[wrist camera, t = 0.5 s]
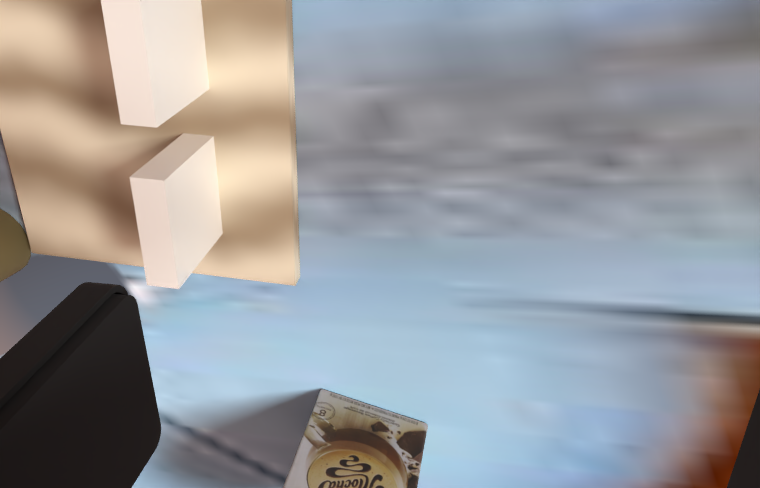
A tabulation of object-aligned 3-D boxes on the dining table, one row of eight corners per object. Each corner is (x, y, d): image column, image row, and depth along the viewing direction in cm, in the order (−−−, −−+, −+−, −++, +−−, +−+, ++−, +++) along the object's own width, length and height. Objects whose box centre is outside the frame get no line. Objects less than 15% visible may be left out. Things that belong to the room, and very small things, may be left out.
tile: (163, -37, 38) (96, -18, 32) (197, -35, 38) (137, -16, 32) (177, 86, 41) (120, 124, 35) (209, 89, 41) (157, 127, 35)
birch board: (-48, -118, 39) (-63, -117, 38) (288, -102, 36) (282, -101, 35) (41, 244, 51) (31, 252, 50) (299, 276, 48) (295, 285, 47)
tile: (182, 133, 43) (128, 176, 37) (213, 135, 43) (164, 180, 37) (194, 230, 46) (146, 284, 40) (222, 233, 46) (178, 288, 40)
